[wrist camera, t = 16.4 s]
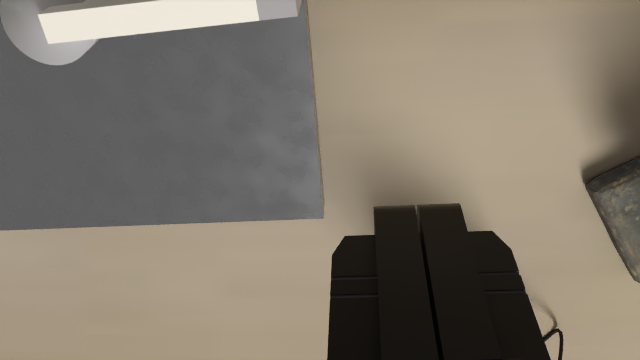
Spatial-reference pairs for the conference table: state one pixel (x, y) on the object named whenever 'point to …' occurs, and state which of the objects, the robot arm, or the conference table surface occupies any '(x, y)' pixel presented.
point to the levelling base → (163, 129)
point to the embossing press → (621, 210)
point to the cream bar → (119, 21)
